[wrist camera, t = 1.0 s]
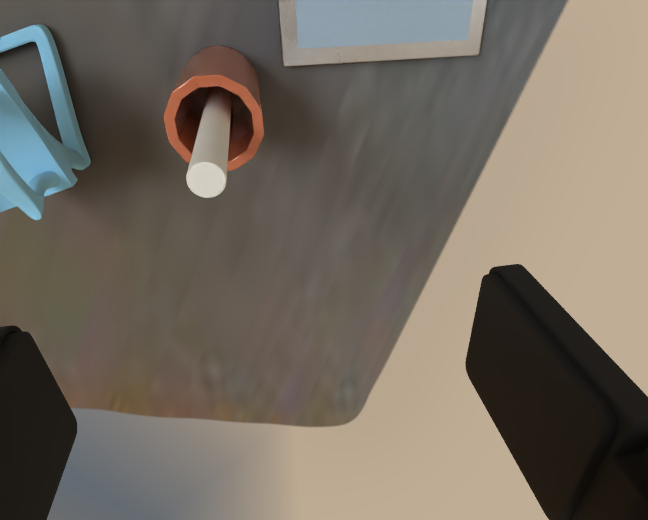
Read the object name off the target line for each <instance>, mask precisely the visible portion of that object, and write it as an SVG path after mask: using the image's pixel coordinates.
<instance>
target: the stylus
mask: <svg viewBox="0 0 648 520" xmlns="http://www.w3.org/2000/svg"><path fill="white" fill-rule="evenodd" d="M231 106H232V92H230V91H228V90H226V89H224V88H222V87H220V86H215V87H209V90H208V94H207V98H206V102H205V106H204V110H203V114H202V118H201V121H200V125H199V129H198V133H197V137H196V141H195V145H194V148H193V152H192V156H191V160H190V164H189V168H188V172H187V176H186V180H187V184H188V187H189V188H190V189H191V191H192V192H193V193H195V194H196V195H198V196H201V197H205V198H211V197H215V196H217V195H219V194H220V193H221V192H222V191H223V190H224V188H225V186H226V179H227V165H228V150H229V135H230V121H231Z"/></svg>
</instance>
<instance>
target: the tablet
mask: <svg viewBox="0 0 648 520" xmlns="http://www.w3.org/2000/svg"><path fill="white" fill-rule="evenodd" d="M486 5H487V0H278V11H279V25H280V38H281V52H282V64H283V66H284V67H286V66H303V65H320V64H337V63H354V62H371V61H388V60H405V59H422V58H440V57H457V56H474V55H479V50H480V44H481V37H482V31H483V24H484V18H485V11H486Z"/></svg>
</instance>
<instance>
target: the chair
mask: <svg viewBox="0 0 648 520" xmlns="http://www.w3.org/2000/svg"><path fill="white" fill-rule="evenodd" d="M29 42H36V44H37V45H38V49H39V52H40V56H41V60H42V64H43V68H44V72H45V76H46V80H47V84H48V88H49V92H50V96H51V100H52V105H53V109H54V113H55V117H56V121H57V124H58V128H59V132H60V135H61V139H62V142H63V144H61V143H60V142H59V141H57V140H56V139H55V138H54V137H53V136H52V135H51V134H50V133H49V132H48V131H47V130H46V129H45V128H44V127H43V126H42V125H41V124H40V122H39V121H38V120H37V119H36V117H35V116H34V115H33V114H32V112H31V111H30V110H29V109H28V107H27V106H26V105H25V104H24V103H23V101H22V99H21V98H20V96H19V95H18V93H17V91H16V90H15V88H14V87H13V85H12V84H11V82H10V81H9V79H8V78H7V77H6V75H5V74H4V72H3V71H2V69H1V68H0V212H2V211H5V210H8V209H10V208H13V207H16V206H18V207H19V208H20V209H21V210H22V211H23V212H25V213H26V214H27V215H28V216H29V217H30V218H32V219H34V220H39V219H41V217H42V212H43V207H44V197H45V196H48V195H51V194H53V193H56V192H59V191H62V190H64V189H67V188H70V187H73V186H74V185H75V183H76V182H77V181H78V179H77V178H76V176H75V175H74V173H73V172H72V168H74V169H78V170H84V169H85V168H86V167H88V166H89V165H90V163H91V160H90V157H89V154H88V152H87V149H86V147H85V144H84V141H83V138H82V135H81V132H80V129H79V125H78V122H77V118H76V115H75V111H74V107H73V104H72V100H71V96H70V93H69V89H68V85H67V81H66V78H65V74H64V70H63V67H62V63H61V60H60V57H59V53H58V50H57V47H56V44H55V42H54V39H53V36H52V34H51V32H50V31H49V29H48V28H47V27H46V26H45V25H41V24H39V25H31V26H29V27H26V28H23V29H21V30H18V31H15V32H13V33H10V34H8V35H5V36H2V37H0V53H1V52H4V51H6V50H9V49H12V48H15V47H18V46H20V45H23V44H26V43H29Z"/></svg>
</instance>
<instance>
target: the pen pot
mask: <svg viewBox="0 0 648 520" xmlns="http://www.w3.org/2000/svg"><path fill="white" fill-rule="evenodd" d="M215 86H220V87H222V88H224V89H226V90H228V91H230V92H232V106H231V121H230V135H229V150H228V165H227V171H229V170H234V169H237V168H238V167H240V166H241V165H243V164H244V163H246V162H247V161H249V160H250V159H252V158H253V157H254V156H255V154H256V152H257V150H258V148H259V146H260V143H261V141H262V139H263V137H264V126H263V116H262V108H261V101H260V94H259V87H258V80H257V74H256V72H255V71H254V69H253V67H252V65H251V64H250V62H249V61H248V60H247V59H246V57H244V56H243V55H242V54H241V53H239V52H238V51H236V50H234V49H232V48H229V47H225V46H211V47H206V48H204V49H202V50H201V51H199V52H198V53H197V54H195V55H194V56H193V57H192V58H191V59H190V60H189V61H188V63H187V65H186V67H185V69H184V71H183V72H182V74H181V76H180V78H179V80H178V82H177V83H176V85H175V87H174V89H173V91H172V93H171V95H170V98H169V101H168V104H167V107H166V110H165V113H164V115H163V116H164V117H163V118H164V123H165V127H166V131H167V136H168V140H169V142H170V144H171V145H172V146H173V147H174V149H175V150H176V151H177V152H178V153H179V154H180V155H181V157H182V158H183V159H184V160H185V161H186V162H187V163H189V164H190V160H191V156H192V152H193V148H194V145H195V141H196V137H197V133H198V129H199V125H200V121H201V118H202V114H203V110H204V106H205V102H206V98H207V94H208V90H209V87H215Z"/></svg>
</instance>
